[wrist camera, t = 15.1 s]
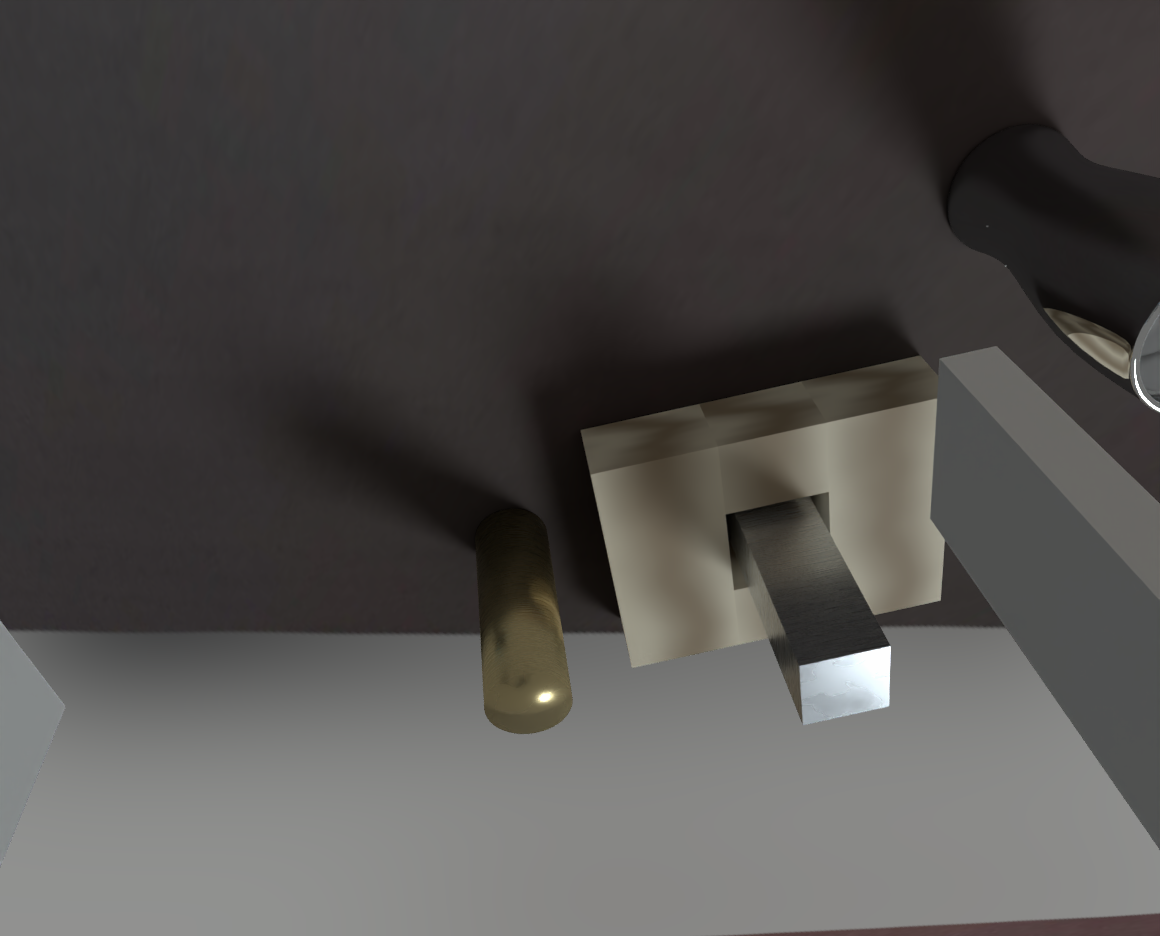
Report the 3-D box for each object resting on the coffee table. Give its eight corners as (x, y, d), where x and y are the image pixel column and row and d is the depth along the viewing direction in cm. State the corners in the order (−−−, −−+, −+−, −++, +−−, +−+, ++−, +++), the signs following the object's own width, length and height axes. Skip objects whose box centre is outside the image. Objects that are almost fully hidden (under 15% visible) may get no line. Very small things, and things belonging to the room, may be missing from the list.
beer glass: (1020, 81, 41) (1264, 196, 29) (1112, 167, 44) (1369, 305, 32) (906, 211, 44) (1085, 366, 32) (999, 284, 47) (1196, 452, 35)
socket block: (620, 618, 57) (632, 668, 54) (580, 429, 49) (590, 474, 46) (911, 555, 57) (940, 600, 54) (920, 355, 49) (954, 394, 46)
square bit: (726, 531, 54) (802, 725, 43) (719, 477, 52) (799, 666, 40) (794, 516, 54) (889, 706, 43) (791, 461, 52) (890, 646, 40)
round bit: (484, 571, 54) (495, 741, 44) (467, 517, 51) (474, 684, 41) (553, 556, 54) (579, 722, 44) (539, 501, 51) (563, 665, 41)
